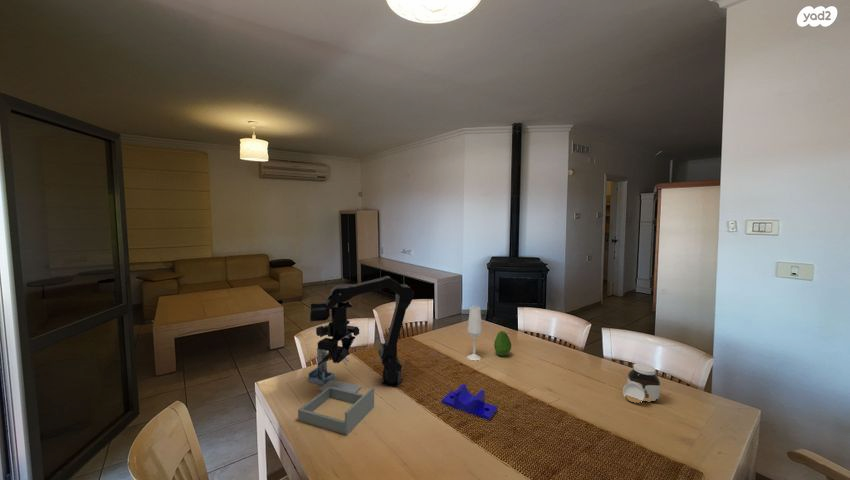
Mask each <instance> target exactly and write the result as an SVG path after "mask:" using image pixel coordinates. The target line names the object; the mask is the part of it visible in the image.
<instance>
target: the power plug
mask: <svg viewBox="0 0 850 480" xmlns="http://www.w3.org/2000/svg"><path fill="white" fill-rule="evenodd" d="M349 354H350V351H348V350H347V349H346V348H345V347H342V346H341V347H340V351H339V355H338V359H337V363H336V364H339V363H341V362H343V364H344V365H345V366H347V365H348V363H350V360H349V359H348V358H347V356H348V355H349ZM330 359H332V358H331V355H330V353H329V352H327V355H326V356H325V357H324V358H323V359H322V361H321V362H320V363H318V362H317V367H318V366H319V365H320V364H321V363H322V362H325V361H326V360H327V361H328V360H330Z"/></svg>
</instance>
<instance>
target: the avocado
mask: <svg viewBox="0 0 850 480" xmlns="http://www.w3.org/2000/svg"><path fill="white" fill-rule="evenodd" d="M493 347H494V351H495V353H496V354H497V355H498V356H500V355H501V357H505V356H507V355H508V354H509V353H510V352H511V350H512V341H511V340H510V337H509V335H508V333H507V332H506V331H504V330H500V331H499V332H498V333H497V334H496V337H495V339H494V343H493Z"/></svg>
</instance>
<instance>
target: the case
mask: <svg viewBox="0 0 850 480" xmlns="http://www.w3.org/2000/svg"><path fill="white" fill-rule="evenodd" d="M330 398H331V399H335V400H339V401H343V402H347V403H351V404H352V405H351V406H350V407H349V408H348V409H347V410H345V412H344V420H343V419H339V418H336V417H331V416H328V415H325V414H321V413H318V412H315V411H316V409H318V408H319V407H320V406H322V405H323V404H324V403H325V402H326V401H328V400H329V399H330ZM374 407H375V387H373V386H372V387H370V388H369V389H368V390H367V391H366V392H364V393H359V392H356V393H355V392H351V391H347V390H343V389H339V388H335V387H331V386H329V387H328V388H326V389H325V390H324V391H323V392H322V391H320V393H318V394H317V395H316V396H315V397H312V399H310V400H309V401H308V402H307V403H305V404H304V405H302V406H301V407H300V408H299V409H297V421H298V422H303V423H306V424H310V425H312V426H315V427H319V428H322V429H326V430H329V431H332V432H336V433H338V434H339V433H340V434H342V435H345V436H348V435H349V434H350V433H351V432H352V431H353V430H354V429H355V428H356V427H357V425H359V423H360V422H361V421H362V420H363V419H364V418H365V417H366V416H367V415H368V414H369V413H370V412H371V411H372V410H373V409H374Z"/></svg>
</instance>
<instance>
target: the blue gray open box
mask: <svg viewBox="0 0 850 480" xmlns="http://www.w3.org/2000/svg"><path fill="white" fill-rule="evenodd" d="M335 374H336V373H335V372H330V371H327V378H326V379H324V380H322V379H318V366H317V367H316V368H314V369H313V370H311V371H310V372H308V375H307V376H308V377H307V378H308V380H307V381H309V383H313V384H317V385H321V386H323V385H325V384H326V383H327V382H329V381H330V380H331V379H332V380H334V379H335V378H336V375H335Z"/></svg>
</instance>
